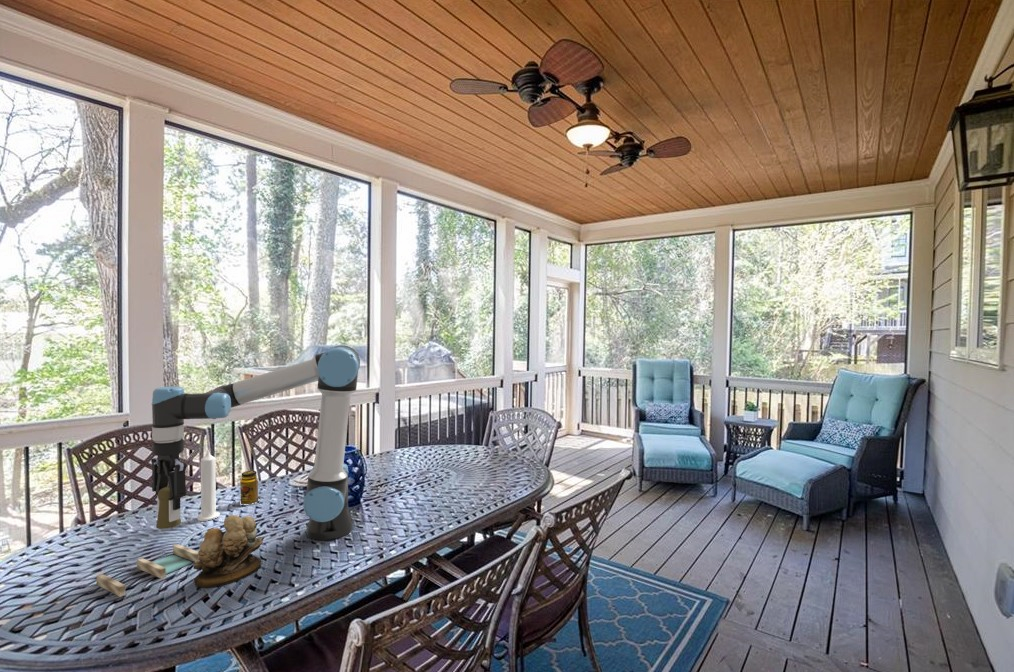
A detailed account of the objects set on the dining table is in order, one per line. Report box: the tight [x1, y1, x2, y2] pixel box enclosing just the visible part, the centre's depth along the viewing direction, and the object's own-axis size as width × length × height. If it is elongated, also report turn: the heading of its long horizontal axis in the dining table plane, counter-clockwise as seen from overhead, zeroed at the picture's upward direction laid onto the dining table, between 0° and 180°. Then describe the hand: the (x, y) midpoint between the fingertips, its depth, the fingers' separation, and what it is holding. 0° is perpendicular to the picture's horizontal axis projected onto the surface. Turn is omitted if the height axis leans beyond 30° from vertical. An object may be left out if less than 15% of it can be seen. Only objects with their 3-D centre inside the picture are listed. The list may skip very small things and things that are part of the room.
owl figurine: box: [192, 514, 264, 589], centre depth 135 cm, size 18×12×17 cm, turn 142°
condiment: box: [239, 470, 262, 505], centre depth 188 cm, size 7×8×12 cm
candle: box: [196, 449, 221, 522], centre depth 172 cm, size 7×7×25 cm
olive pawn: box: [155, 486, 182, 530], centre depth 139 cm, size 6×6×11 cm
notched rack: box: [95, 543, 200, 598], centre depth 139 cm, size 12×30×2 cm, turn 154°
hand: (168, 517), depth 139 cm, fingers closed on olive pawn, 5 cm apart
